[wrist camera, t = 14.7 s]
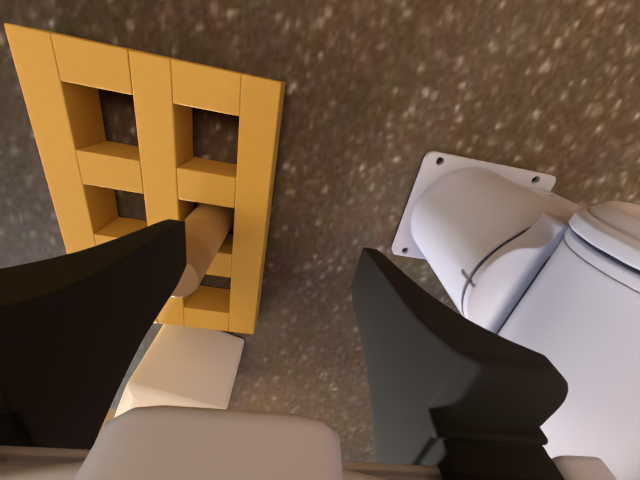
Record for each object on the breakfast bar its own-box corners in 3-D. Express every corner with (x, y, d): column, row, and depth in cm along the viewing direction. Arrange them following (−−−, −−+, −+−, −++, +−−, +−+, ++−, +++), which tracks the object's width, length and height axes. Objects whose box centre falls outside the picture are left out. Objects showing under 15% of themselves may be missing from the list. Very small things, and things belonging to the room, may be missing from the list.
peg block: (285, 82, 17) (281, 82, 14) (259, 310, 26) (253, 334, 23) (51, 31, 16) (2, 22, 13) (106, 291, 24) (83, 314, 22)
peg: (238, 197, 20) (198, 258, 13) (236, 229, 22) (199, 300, 15) (200, 191, 20) (140, 250, 13) (200, 224, 21) (146, 294, 14)
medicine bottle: (151, 358, 28) (56, 521, 18) (171, 311, 25) (70, 473, 15) (220, 380, 30) (170, 539, 20) (246, 338, 27) (204, 499, 17)
